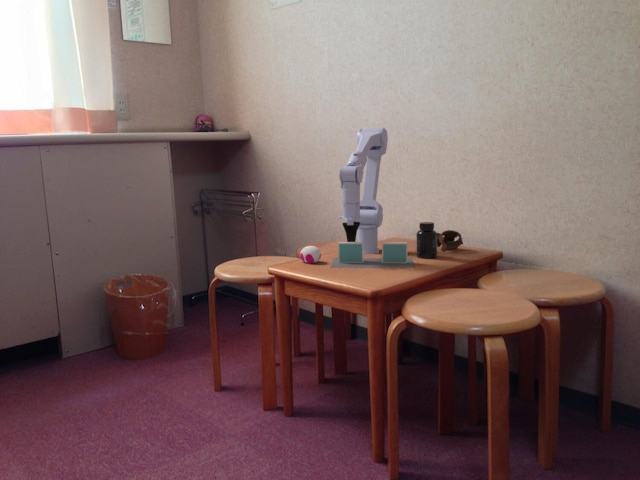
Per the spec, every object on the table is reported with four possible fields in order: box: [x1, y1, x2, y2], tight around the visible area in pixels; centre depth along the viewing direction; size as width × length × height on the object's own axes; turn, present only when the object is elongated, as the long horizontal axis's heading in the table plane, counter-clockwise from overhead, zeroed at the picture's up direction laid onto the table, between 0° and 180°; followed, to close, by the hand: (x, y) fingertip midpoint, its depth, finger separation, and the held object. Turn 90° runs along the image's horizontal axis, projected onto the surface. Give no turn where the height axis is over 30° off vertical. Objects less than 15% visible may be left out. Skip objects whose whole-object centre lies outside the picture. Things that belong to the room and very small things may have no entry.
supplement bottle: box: [415, 221, 438, 260], centre depth 189 cm, size 7×7×12 cm
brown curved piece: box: [437, 229, 464, 253], centre depth 204 cm, size 12×10×8 cm
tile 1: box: [337, 241, 364, 263], centre depth 182 cm, size 2×8×6 cm, turn 84°
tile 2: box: [381, 241, 408, 263], centre depth 181 cm, size 2×8×6 cm, turn 84°
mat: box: [330, 257, 416, 269], centre depth 182 cm, size 15×26×1 cm, turn 84°
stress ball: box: [299, 245, 322, 264], centre depth 184 cm, size 8×8×7 cm
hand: (351, 244), depth 186 cm, fingers closed
